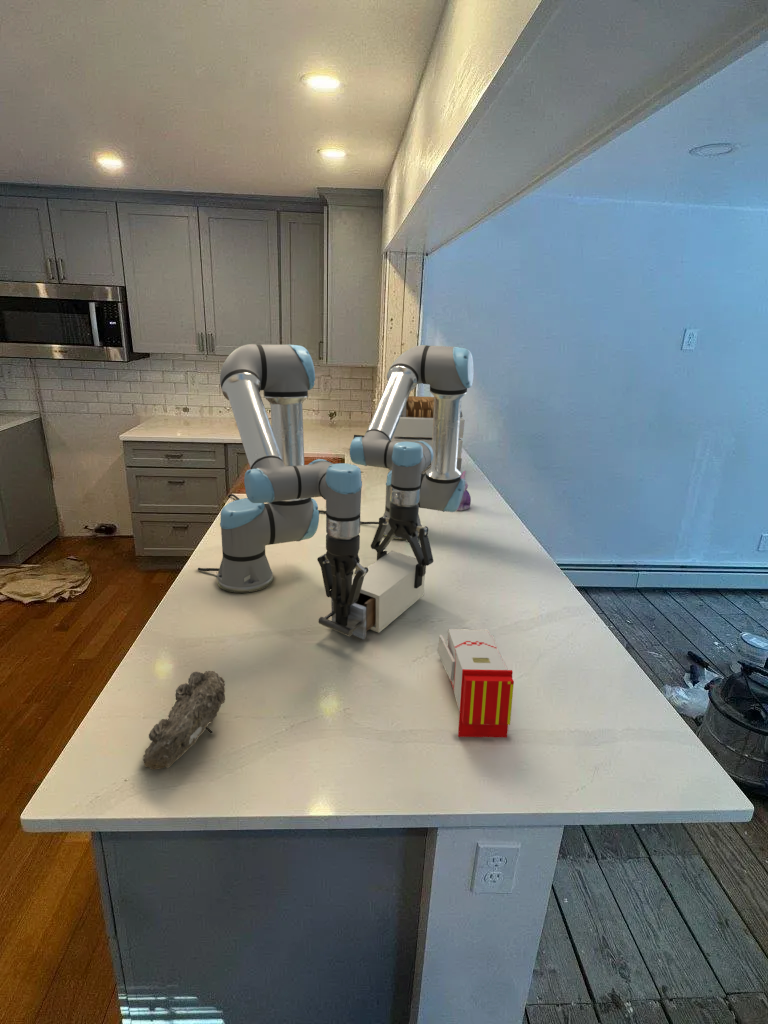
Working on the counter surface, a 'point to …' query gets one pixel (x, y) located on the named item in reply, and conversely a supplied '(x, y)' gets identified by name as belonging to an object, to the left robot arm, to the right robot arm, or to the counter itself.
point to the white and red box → (478, 682)
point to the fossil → (185, 719)
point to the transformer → (421, 424)
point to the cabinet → (391, 587)
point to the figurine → (464, 496)
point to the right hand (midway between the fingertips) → (399, 580)
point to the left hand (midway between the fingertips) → (341, 626)
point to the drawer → (354, 617)
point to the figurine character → (358, 436)
